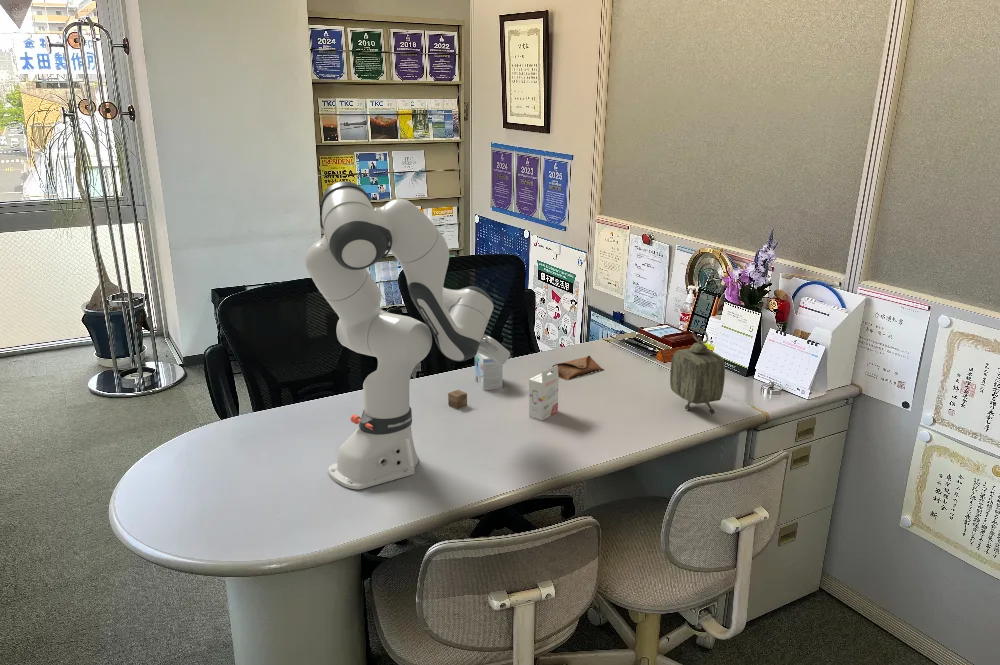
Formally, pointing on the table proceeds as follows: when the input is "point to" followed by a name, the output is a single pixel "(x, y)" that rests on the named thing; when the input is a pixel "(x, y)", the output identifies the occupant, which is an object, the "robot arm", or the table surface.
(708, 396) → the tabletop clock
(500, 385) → the light bulb box
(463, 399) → the walnut block
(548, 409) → the ink cartridge box
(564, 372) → the sunglasses case
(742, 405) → the table surface
